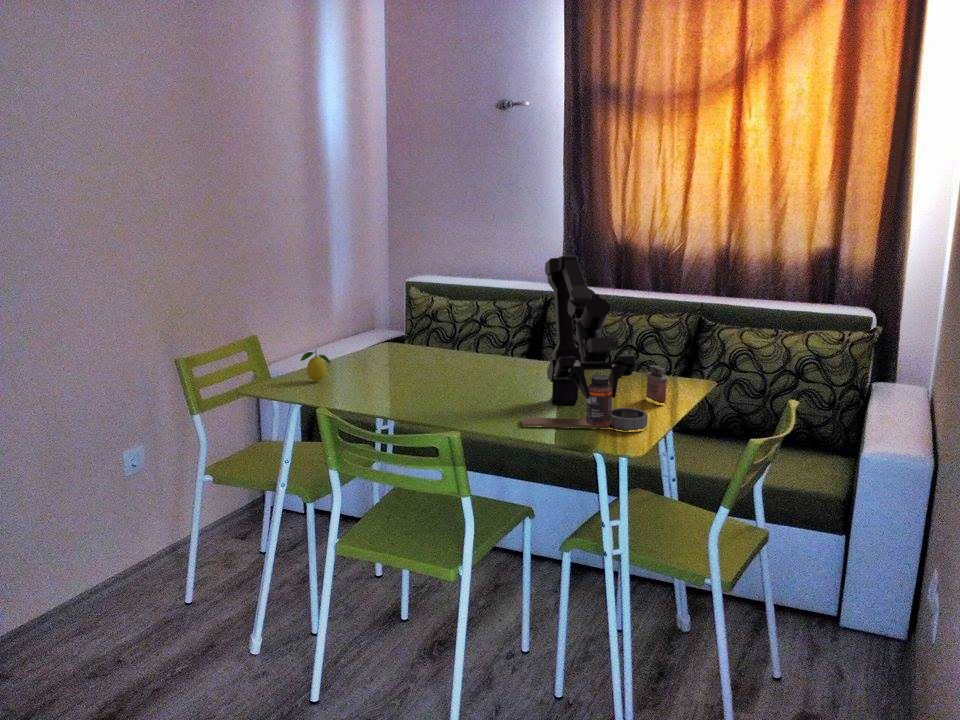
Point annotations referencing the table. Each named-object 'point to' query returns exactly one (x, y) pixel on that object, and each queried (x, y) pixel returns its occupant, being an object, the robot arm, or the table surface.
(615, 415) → the cup bracket
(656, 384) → the lighter
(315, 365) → the lemon
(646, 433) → the table surface
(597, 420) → the supplement bottle
